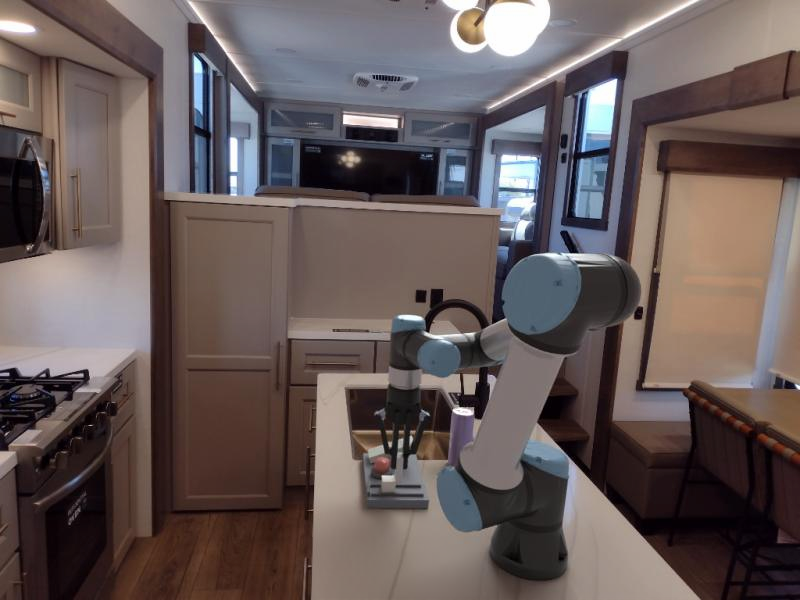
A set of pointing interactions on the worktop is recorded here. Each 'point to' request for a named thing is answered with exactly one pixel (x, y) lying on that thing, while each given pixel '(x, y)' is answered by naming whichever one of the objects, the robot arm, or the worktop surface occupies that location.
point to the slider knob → (388, 484)
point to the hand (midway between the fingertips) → (398, 481)
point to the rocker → (379, 450)
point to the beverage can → (460, 432)
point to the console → (405, 493)
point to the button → (381, 465)
